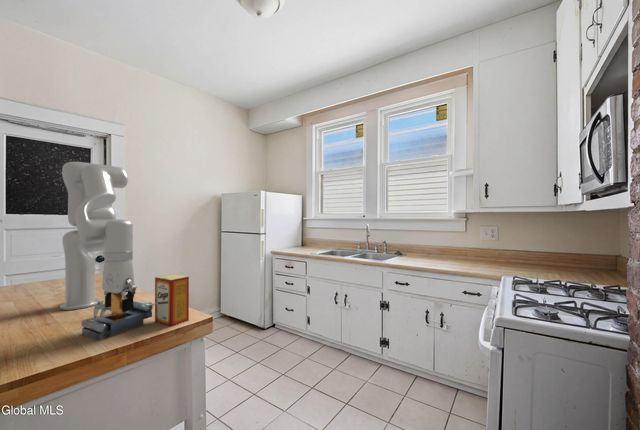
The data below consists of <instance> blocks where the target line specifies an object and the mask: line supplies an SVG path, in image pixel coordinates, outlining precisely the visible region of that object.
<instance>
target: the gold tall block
mask: <svg viewBox="0 0 640 430" xmlns="http://www.w3.org/2000/svg"><path fill="white" fill-rule="evenodd" d="M122 299H123V296H122V294H121V292H120V293H118V294H116V293H111V311H110V312H111V313H110V314H111V320H118V319H121V318H124V317H126V312H122Z"/></svg>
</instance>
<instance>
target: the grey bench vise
mask: <svg viewBox="0 0 640 430" xmlns="http://www.w3.org/2000/svg"><path fill="white" fill-rule="evenodd" d="M144 303H145V302H140V301H135V300H133V309H132V310H129V311H126V317H124V318H121V319H118V320H111V313H108V314H104V315H103V316H101V317H100V316H98V317H96V318H94V317H93V320H91V319H83V321H82V322H81V335H82V336H86V337H87V338H91V339H94V340H97V341H103V340H106V339H108V338H112V337H114V336H116V335H120V334H123V333H126V332H128V331H132V330H134V329H137V328H140V327H143V326H144V321H145V320H147V319H149V318H152V317H153V308H154V307H153V305H149V304H144Z"/></svg>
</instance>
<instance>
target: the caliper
mask: <svg viewBox="0 0 640 430" xmlns="http://www.w3.org/2000/svg"><path fill="white" fill-rule="evenodd" d="M143 303H144V304H149V305H152V306H155V305H154V304H155V303H152V302H143ZM99 310H100V313H99ZM107 311H110V312H111V307H107V308H106V307H105V302H104V301H103V300H100V301H98V304H96V305H94V308H93V319H94V318H98V317H97V316H98V313H99V317H101V316H105V313H106V312H107Z"/></svg>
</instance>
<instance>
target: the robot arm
mask: <svg viewBox="0 0 640 430" xmlns="http://www.w3.org/2000/svg"><path fill="white" fill-rule="evenodd" d="M61 170H62V171H61V172H62V173H61V175H62V176H61V177H62V179H63V180H62V181H63V183H64V185H65V187H66V191H67V195H68V196H67V206H68V207H67V219H68V223H69V224H70V226H73V227H76V230H70V231H68V232H66V233H64V235H63V236H62V247H63V252H64V261H65V265H64V267H65V268H64V269H65V272H64V273H65V275H64V276H65V278H64V280H65V284H64V287H65V288H64V289H65V292H64V295H65V296H64V298H65V299H64V300H65V301H64V303H62V304H60V305H59V308H60V310H66V311H67V310H68V311H69V310H79V309H80V310H81V309H85V308H90V307H93V306H95V305H96V304H98V301H100V302H101V300H100V298H97V297H96V262H95V259H93V258H94V257H92V256H90V255H89V254H88V253H93V252H104V265H103V271H102V284H101V285H102V286H101V288H102V291H104V293H103V295H104V303H105V307H106V308H107V307H111V293H116V294H118V293H120V292H121V294H122V296H123V299H122V312H126V311H129V310H132V309H133V301H134V298H135V295H136V290H137V284H135V283H134V282H135V281H134V280H135V279H134V278H135V277H134V267H133V261H134V259H133V258H134V257H133V254H134V252H133V248H134V243H133V242H134V241H133V239H134V238H133V237H134V234H133V233H134V230H133V229H134V224H133V222H132V221H131V220H129V219H125V220H124V219H117V216H116V210H115V208H114V207H113V206H111V205H112V204H113V203H115V202H116V200H117V196H116V195H117V194H116V192H115V189H124V188H125V187H127V185H128V183H129V176H128V173H127V171H126V170H125V169H124V168H123V167H120V166H113V165H105V164H98V163H91V162H82V161H68V162H66V163H64V164H63V165H62V169H61Z"/></svg>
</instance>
